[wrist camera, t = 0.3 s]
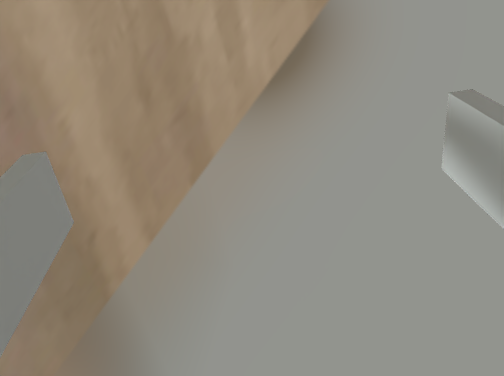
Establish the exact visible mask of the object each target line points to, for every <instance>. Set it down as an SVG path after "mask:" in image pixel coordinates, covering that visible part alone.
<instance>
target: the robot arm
mask: <svg viewBox="0 0 504 376" xmlns="http://www.w3.org/2000/svg"><path fill="white" fill-rule="evenodd" d="M442 170H443V171H445V173H446V174H447V175H448V176H450V177H451V178H452V179H453V180H454V181H455V182H456V183H457V184H458V185H459V186H460V187H461V188H462V189H463V190H464V191H465V192H466V193H467V194H468V195H469V196H470V197H471V198H472V199H473V200H474V201H475V202H476V203H477V204H478V205H479V206H480V207H481V208H482V209H483V210H485V211H486V212H487V213H488V214H489V215H490V216H491V217H492V218H493V219H494V220H495V221H496V222H497V223H498V224H499V225H500V226H501V227H502V228H503V229H504V106H503V105H501V104H499V103H497V102H495V101H493V100H492V99H490V98H488V97H486V96H484V95H482V94H480V93H479V92H477V91H475V90H473V89H470V90H464V91H457V92H450V93H449V95H448V106H447V117H446V128H445V138H444V149H443V160H442ZM73 223H74V221H73V219H72V216H71V214H70V211H69V209H68V206H67V204H66V201H65V199H64V196H63V194H62V191H61V189H60V186H59V184H58V181H57V179H56V176H55V174H54V171H53V169H52V166H51V163H50V161H49V158H48V156H47V153H46V152H40V153H33V154H27V155H22V156H21V157H20V158H19V159H18V160H17V161H16V162H15V163H14V164H13V165H12V166H11V167H10V168H9V169H8V170H7V171H6V172H5V173H4V174H3V175H2V176H1V177H0V357H1V355H2V353H3V351H4V349H5V348H6V346H7V344H8V342H9V340H10V338H11V337H12V335H13V333H14V331H15V329H16V327H17V326H18V324H19V322H20V320H21V318H22V316H23V315H24V313H25V311H26V309H27V307H28V305H29V304H30V302H31V300H32V298H33V296H34V294H35V293H36V291H37V289H38V287H39V285H40V283H41V282H42V280H43V278H44V276H45V274H46V272H47V271H48V269H49V267H50V265H51V263H52V262H53V260H54V258H55V256H56V254H57V252H58V251H59V249H60V247H61V245H62V243H63V241H64V240H65V238H66V236H67V234H68V232H69V230H70V229H71V227H72V225H73Z"/></svg>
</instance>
